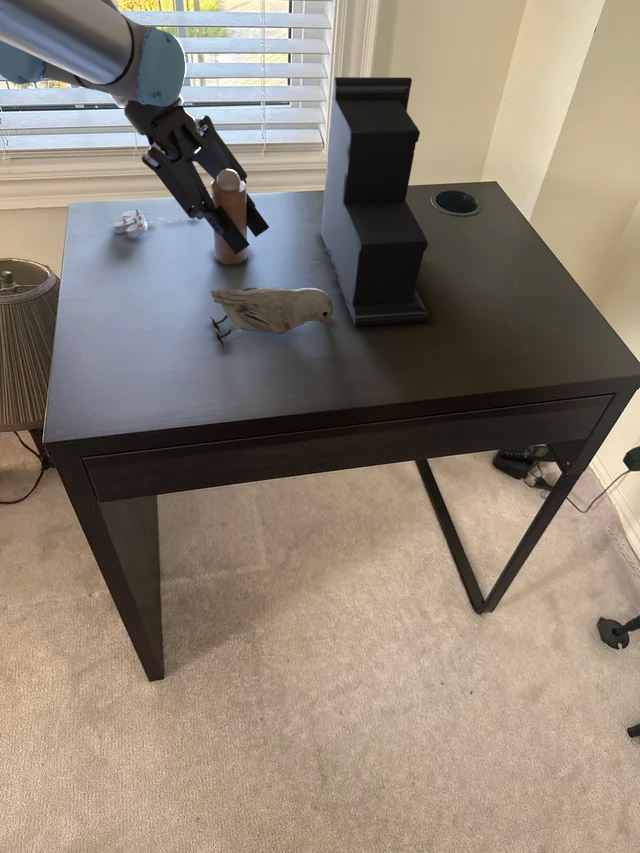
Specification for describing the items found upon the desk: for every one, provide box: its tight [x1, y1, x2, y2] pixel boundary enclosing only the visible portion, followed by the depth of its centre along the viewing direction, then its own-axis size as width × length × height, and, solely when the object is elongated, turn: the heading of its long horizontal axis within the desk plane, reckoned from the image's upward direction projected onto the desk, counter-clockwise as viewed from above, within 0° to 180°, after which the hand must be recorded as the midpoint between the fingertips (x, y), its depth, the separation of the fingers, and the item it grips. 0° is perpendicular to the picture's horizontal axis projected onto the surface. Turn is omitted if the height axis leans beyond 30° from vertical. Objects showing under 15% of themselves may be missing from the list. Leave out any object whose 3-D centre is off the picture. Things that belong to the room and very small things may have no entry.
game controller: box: [112, 209, 193, 239], centre depth 99 cm, size 6×12×3 cm, turn 129°
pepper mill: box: [210, 169, 248, 265], centre depth 91 cm, size 5×5×13 cm
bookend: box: [320, 76, 430, 327], centre depth 86 cm, size 23×11×24 cm, turn 11°
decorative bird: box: [209, 286, 334, 350], centre depth 82 cm, size 5×16×8 cm, turn 107°
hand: (252, 240), depth 92 cm, fingers closed on pepper mill, 5 cm apart
